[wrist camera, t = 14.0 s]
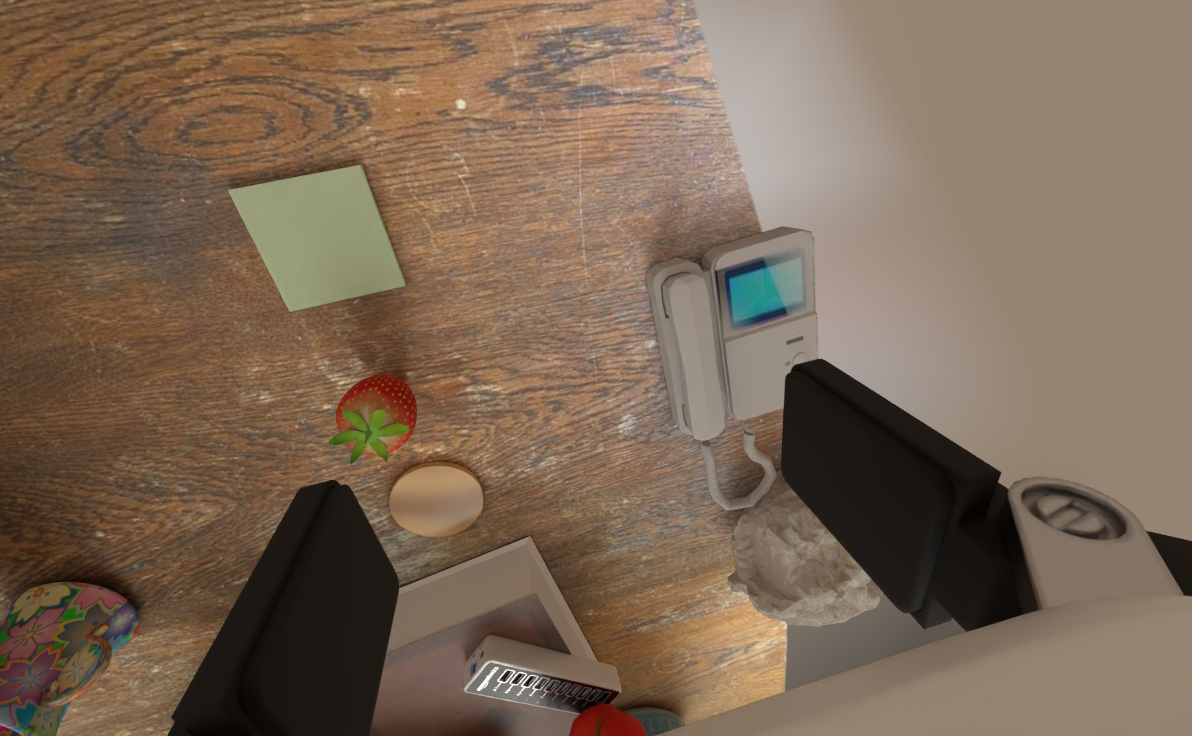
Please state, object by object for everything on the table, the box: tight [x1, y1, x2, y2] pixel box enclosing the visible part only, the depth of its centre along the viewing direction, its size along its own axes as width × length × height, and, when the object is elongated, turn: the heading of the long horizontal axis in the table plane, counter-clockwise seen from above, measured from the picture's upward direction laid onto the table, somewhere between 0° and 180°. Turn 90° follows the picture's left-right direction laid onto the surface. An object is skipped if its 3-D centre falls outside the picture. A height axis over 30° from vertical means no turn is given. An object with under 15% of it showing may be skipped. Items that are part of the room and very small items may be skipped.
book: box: [370, 536, 597, 736], centre depth 47 cm, size 24×28×6 cm
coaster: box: [389, 462, 484, 537], centre depth 40 cm, size 8×8×1 cm
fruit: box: [329, 374, 417, 464], centre depth 32 cm, size 5×5×8 cm
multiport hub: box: [464, 635, 622, 714], centre depth 42 cm, size 4×14×2 cm, turn 54°
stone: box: [728, 469, 883, 626], centre depth 46 cm, size 17×17×15 cm
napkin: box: [228, 165, 407, 312], centre depth 30 cm, size 8×8×1 cm
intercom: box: [646, 227, 818, 511], centre depth 40 cm, size 13×4×25 cm
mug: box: [0, 582, 139, 736], centre depth 33 cm, size 12×9×11 cm
